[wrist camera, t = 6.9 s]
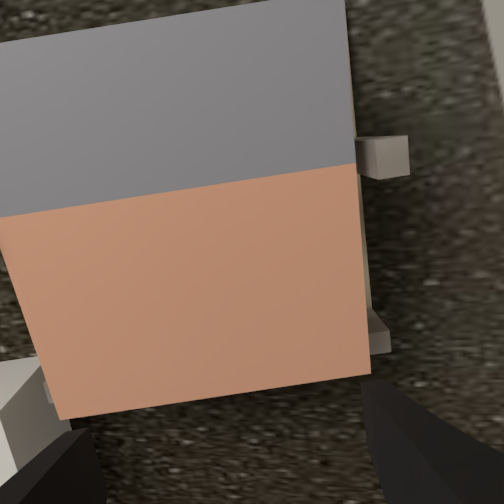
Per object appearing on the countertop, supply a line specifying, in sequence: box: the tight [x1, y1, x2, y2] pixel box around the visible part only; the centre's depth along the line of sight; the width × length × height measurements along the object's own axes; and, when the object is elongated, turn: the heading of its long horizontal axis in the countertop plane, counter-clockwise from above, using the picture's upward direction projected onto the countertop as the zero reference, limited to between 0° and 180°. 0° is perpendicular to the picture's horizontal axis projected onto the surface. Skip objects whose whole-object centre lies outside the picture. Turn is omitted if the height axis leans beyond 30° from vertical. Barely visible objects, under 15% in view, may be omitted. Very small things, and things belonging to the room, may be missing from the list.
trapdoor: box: [0, 0, 371, 420], centre depth 16 cm, size 13×12×3 cm
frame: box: [43, 3, 410, 404], centre depth 17 cm, size 15×15×6 cm
